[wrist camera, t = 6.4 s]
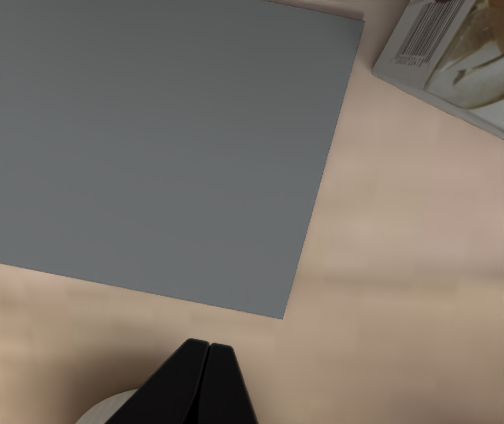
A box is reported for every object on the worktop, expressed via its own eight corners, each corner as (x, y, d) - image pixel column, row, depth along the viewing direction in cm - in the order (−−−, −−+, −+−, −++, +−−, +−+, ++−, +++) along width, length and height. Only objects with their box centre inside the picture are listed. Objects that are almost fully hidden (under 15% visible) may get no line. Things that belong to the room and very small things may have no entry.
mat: (362, 21, 15) (364, 21, 14) (282, 314, 20) (282, 319, 20) (-107, -77, 14) (-118, -80, 14) (-59, 246, 20) (-65, 250, 20)
